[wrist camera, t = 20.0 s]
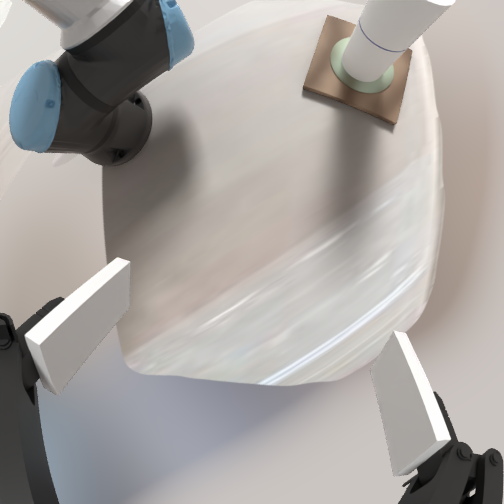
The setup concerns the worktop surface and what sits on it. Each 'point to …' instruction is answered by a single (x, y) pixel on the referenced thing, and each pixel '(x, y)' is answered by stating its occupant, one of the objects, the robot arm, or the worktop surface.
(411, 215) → the worktop surface
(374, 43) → the cylindrical container
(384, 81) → the board
